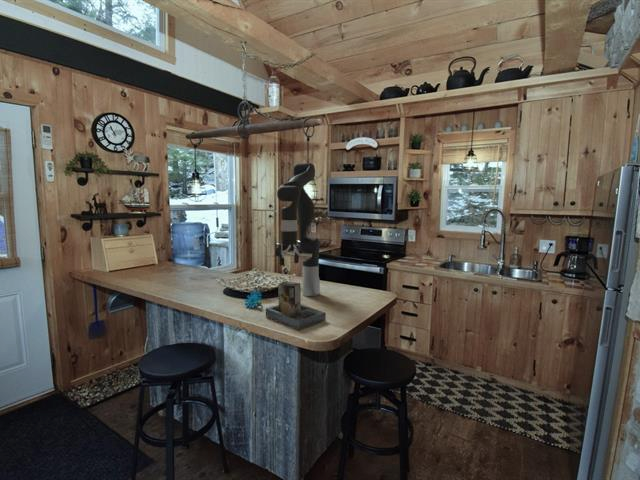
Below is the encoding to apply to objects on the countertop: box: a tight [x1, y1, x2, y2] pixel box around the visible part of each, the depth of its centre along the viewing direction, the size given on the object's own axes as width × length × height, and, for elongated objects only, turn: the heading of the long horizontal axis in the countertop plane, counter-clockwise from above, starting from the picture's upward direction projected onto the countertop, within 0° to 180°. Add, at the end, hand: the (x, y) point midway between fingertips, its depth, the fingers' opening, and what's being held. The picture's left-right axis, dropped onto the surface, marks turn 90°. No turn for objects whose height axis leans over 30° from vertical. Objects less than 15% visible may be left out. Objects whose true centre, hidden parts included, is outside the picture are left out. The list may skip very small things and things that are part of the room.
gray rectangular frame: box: [265, 304, 327, 331], centre depth 159 cm, size 16×24×4 cm, turn 45°
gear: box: [244, 290, 264, 309], centre depth 177 cm, size 11×6×10 cm
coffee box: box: [277, 281, 302, 315], centre depth 162 cm, size 9×6×16 cm
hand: (289, 264), depth 159 cm, fingers open, 8 cm apart
